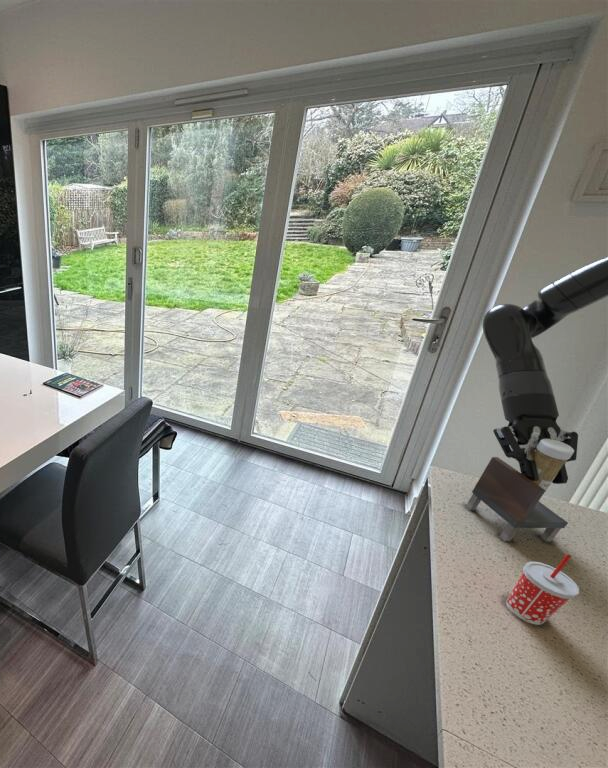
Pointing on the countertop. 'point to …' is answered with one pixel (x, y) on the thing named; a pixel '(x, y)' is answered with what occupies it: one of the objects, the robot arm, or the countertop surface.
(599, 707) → the countertop surface
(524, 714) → the countertop surface
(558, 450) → the sprinkles bottle
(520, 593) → the beverage cup
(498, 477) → the chair
